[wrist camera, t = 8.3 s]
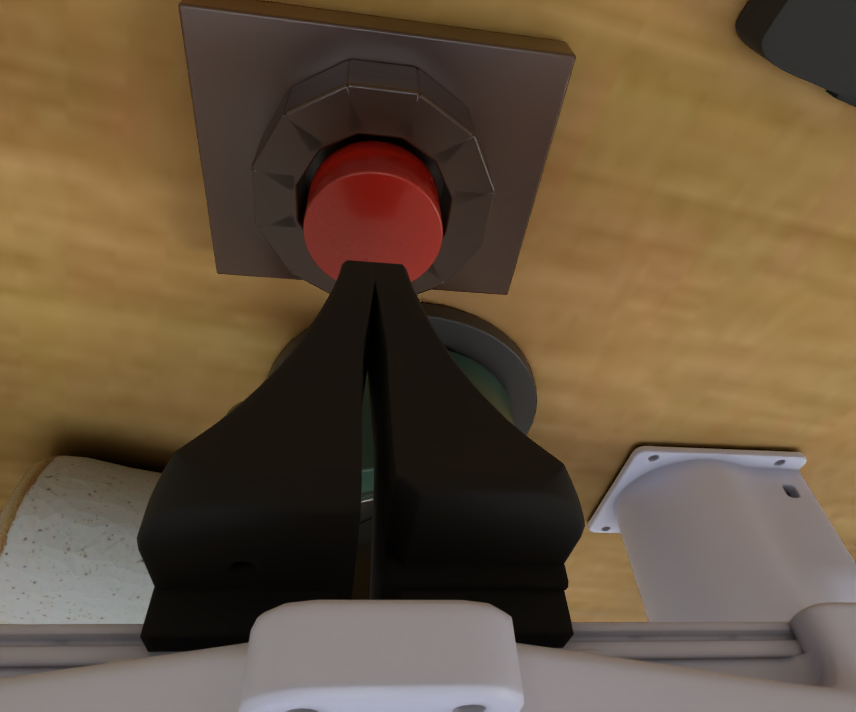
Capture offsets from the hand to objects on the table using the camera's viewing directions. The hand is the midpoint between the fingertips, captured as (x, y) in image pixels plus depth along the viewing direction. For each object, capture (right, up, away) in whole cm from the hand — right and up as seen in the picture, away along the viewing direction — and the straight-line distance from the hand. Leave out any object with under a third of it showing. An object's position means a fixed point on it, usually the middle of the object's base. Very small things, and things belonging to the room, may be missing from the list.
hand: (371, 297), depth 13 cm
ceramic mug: (-14, -8, +17) cm, 23 cm away
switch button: (0, +3, +3) cm, 4 cm away
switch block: (0, +5, +5) cm, 7 cm away
